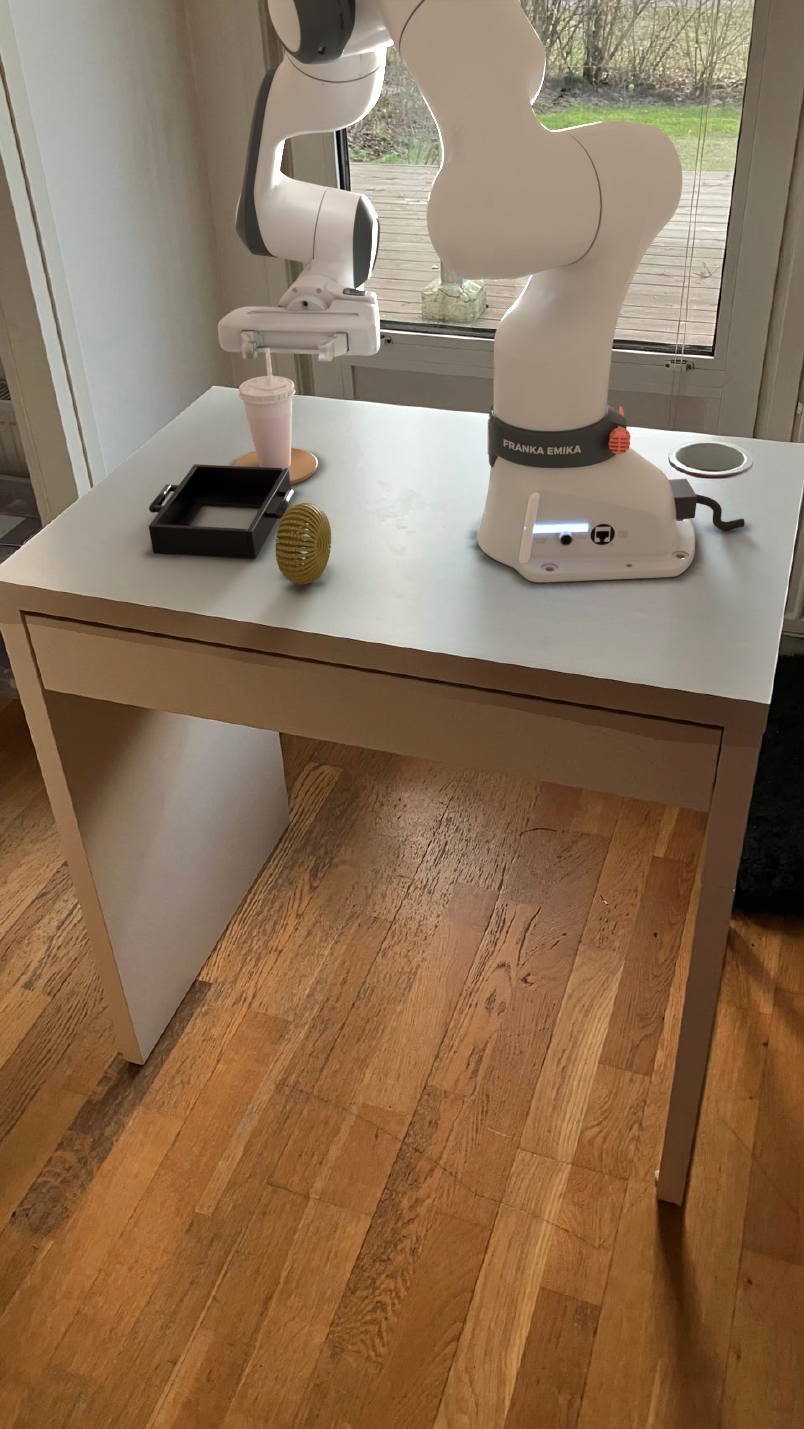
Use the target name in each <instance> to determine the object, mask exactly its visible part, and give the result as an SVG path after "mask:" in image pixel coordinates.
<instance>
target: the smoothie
mask: <svg viewBox="0 0 804 1429" xmlns="http://www.w3.org/2000/svg"><path fill="white" fill-rule="evenodd" d="M264 355H265V365H266V366H265V367H266V374H267V375H263V376H257V377H256V376H255V377H252V378H250V379H247V380H244V381H243V382H242V383H240V385H239V386H238V392H239V394H238V396H239V397H238V398H239V399H241V401H243V402H242V403H243V406H244V410H245V414H246V418H247V421H248V425H249V429H250V434H251V438H252V442H253V446H254V450H255V451H256V454H257V458H258V462H259V466H260V467H269V468H287V467H289V466H290V463H291V448H292V424H293V396H294V395H295V393H296V390H295V383H294V381H293V380H291V379H290V378H288V377H285V376H280V375H273V368H272V358H271V353H270V348H269V347H266V348H265V353H264Z"/></svg>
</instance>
